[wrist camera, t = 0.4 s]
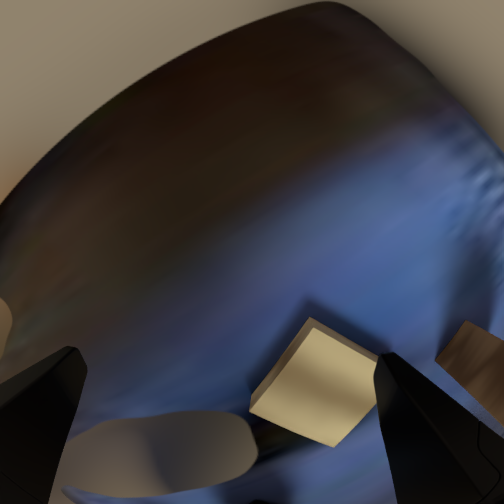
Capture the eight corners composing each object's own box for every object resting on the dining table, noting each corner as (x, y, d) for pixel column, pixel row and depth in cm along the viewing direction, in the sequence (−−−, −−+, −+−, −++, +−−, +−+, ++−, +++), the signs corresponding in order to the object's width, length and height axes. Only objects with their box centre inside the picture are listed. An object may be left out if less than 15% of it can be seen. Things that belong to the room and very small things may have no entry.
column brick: (456, 381, 22) (524, 448, 10) (434, 360, 22) (510, 433, 10) (485, 343, 22) (563, 395, 9) (465, 319, 22) (555, 371, 9)
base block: (329, 428, 24) (333, 447, 21) (251, 392, 24) (249, 411, 21) (387, 360, 23) (398, 375, 20) (309, 314, 23) (313, 327, 20)
